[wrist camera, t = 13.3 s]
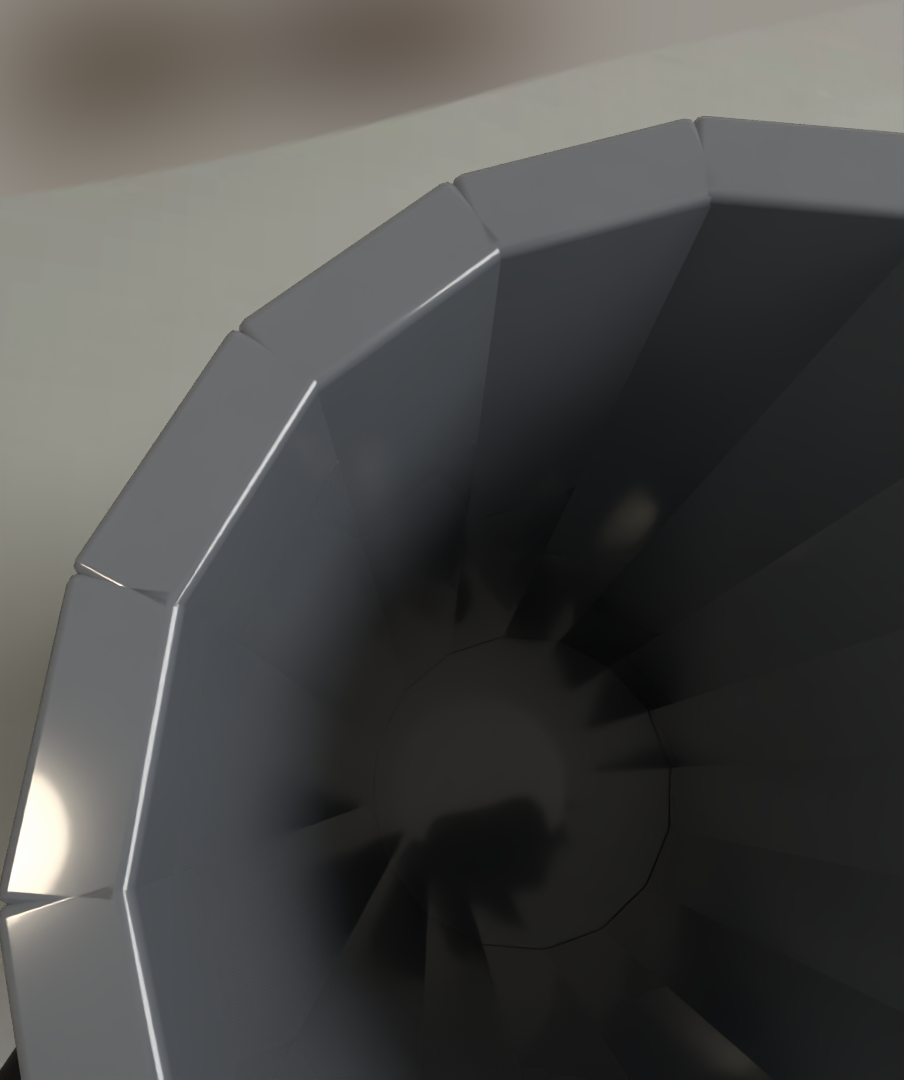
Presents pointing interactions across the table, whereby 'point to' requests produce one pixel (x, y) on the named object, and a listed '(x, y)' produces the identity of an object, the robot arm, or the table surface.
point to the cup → (503, 651)
